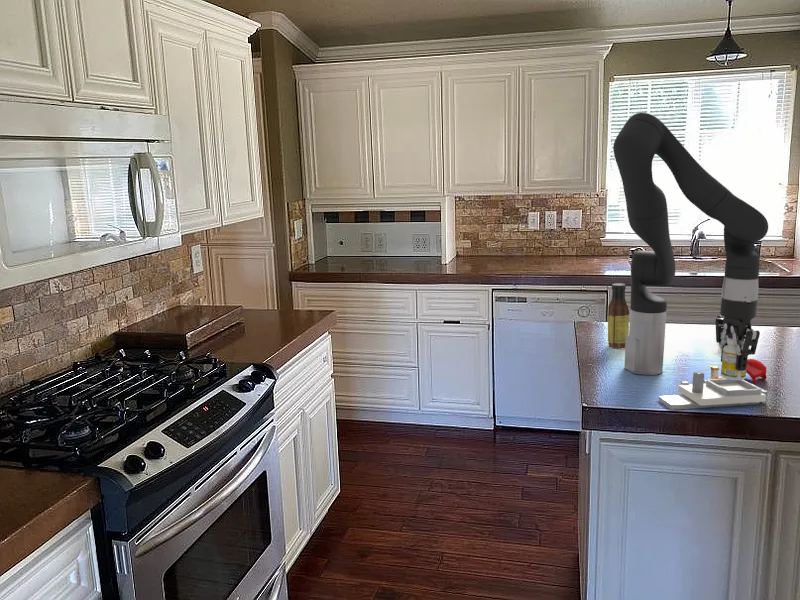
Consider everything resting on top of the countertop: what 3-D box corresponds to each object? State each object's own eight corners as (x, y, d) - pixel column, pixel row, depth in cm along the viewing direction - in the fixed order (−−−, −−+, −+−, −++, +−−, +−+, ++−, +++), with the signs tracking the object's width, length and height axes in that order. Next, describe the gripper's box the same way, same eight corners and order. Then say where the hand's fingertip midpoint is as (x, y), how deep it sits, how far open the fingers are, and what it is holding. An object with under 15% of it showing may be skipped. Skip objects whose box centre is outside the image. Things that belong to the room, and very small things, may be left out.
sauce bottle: (631, 346, 207) (635, 283, 203) (622, 350, 202) (626, 286, 198) (612, 342, 211) (614, 281, 207) (602, 346, 207) (605, 284, 203)
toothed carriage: (700, 405, 152) (702, 380, 151) (675, 389, 163) (677, 366, 162) (765, 401, 154) (767, 376, 153) (736, 385, 165) (738, 362, 164)
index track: (671, 409, 154) (672, 384, 153) (647, 393, 165) (648, 369, 164) (766, 403, 157) (768, 379, 155) (736, 387, 168) (738, 364, 167)
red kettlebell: (753, 375, 168) (771, 361, 168) (734, 361, 172) (753, 348, 173) (755, 393, 172) (773, 380, 173) (737, 380, 177) (755, 367, 177)
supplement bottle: (727, 381, 155) (730, 341, 153) (716, 374, 160) (719, 335, 158) (750, 380, 155) (753, 341, 153) (738, 373, 160) (742, 335, 158)
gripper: (706, 291, 160) (701, 358, 164) (742, 303, 146) (736, 376, 149) (736, 290, 161) (730, 357, 164) (774, 302, 147) (767, 375, 150)
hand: (733, 366), depth 157 cm, fingers closed on supplement bottle, 5 cm apart
